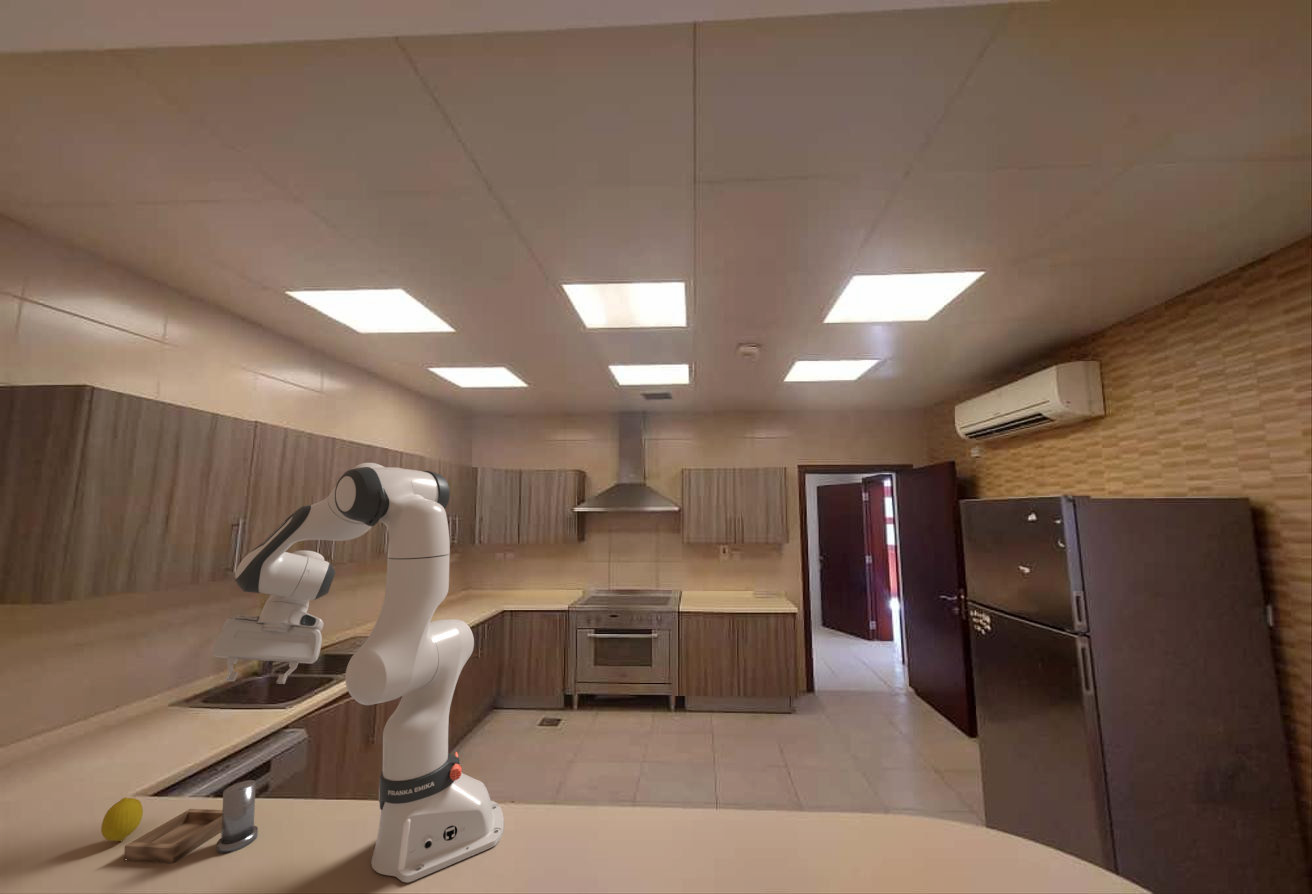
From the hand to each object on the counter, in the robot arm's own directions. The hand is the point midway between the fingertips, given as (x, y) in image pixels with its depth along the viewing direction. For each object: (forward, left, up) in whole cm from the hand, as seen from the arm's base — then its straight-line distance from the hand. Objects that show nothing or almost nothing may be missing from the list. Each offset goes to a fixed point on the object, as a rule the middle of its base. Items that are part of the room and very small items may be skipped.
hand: (255, 682), depth 107 cm
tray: (+8, +8, -26) cm, 28 cm away
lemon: (+20, +2, -26) cm, 33 cm away
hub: (-3, +14, -26) cm, 30 cm away
